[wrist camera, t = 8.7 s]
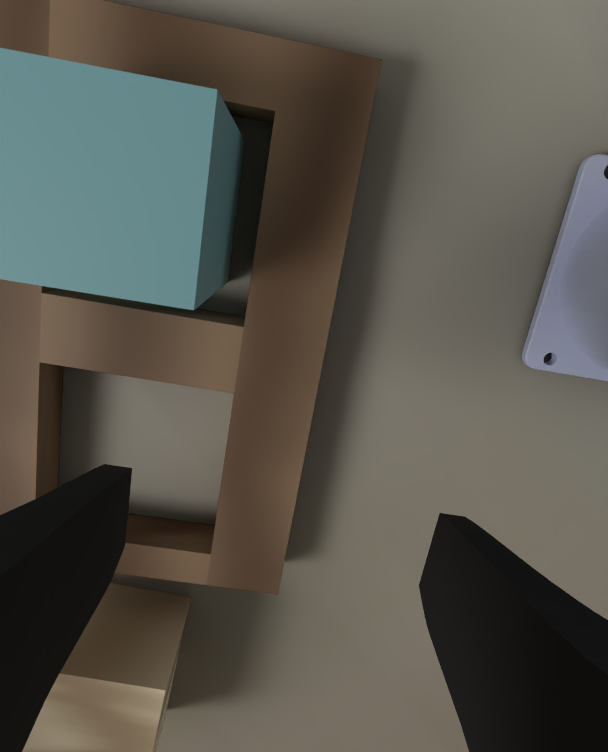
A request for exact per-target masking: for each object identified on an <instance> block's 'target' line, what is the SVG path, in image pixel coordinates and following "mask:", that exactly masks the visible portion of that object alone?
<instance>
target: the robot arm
mask: <svg viewBox="0 0 608 752" xmlns="http://www.w3.org/2000/svg"><path fill="white" fill-rule="evenodd" d="M606 166H608V155H604V154H596V155H592V156H589V157H587V158H586V159H585V160H584V161H583V162H582V163H581V165H580V167H579V170H578V173H577V177H576V180H575V183H574V186H573V190H572V193H571V196H570V199H569V203H568V206H567V209H566V212H565V216H564V219H563V222H562V225H561V229H560V232H559V235H558V238H557V242H556V245H555V248H554V251H553V254H552V258H551V261H550V264H549V267H548V271H547V274H546V277H545V280H544V284H543V287H542V290H541V293H540V297H539V300H538V303H537V306H536V310H535V313H534V316H533V319H532V323H531V326H530V329H529V332H528V336H527V339H526V342H525V345H524V349H523V352H522V360H523V362H524V363H525V364H526V365H527V366H529V367H531V368H533V369H539V370H545V371H551V372H556V373H562V374H568V375H574V376H580V377H586V378H592V379H598V380H603V381H608V179H607V178H605V176H604V170H605V168H606ZM548 353H551V354H552V358H551V359H550V361H548V362H547V363H544V357H545V355H546V354H548ZM131 474H132V468H127V467H120V466H113V465H106V464H104V465H102V466H100V467H97V468H95V469H93V470H91V471H89V472H87V473H85V474H83V475H81V476H80V477H78V478H76V479H74V480H72V481H70V482H68V483H66V484H64V485H62V486H60V487H58V488H56V489H54V490H52V491H50V492H49V493H47V494H45V495H43V496H41V497H39V498H37V499H35V500H32V501H30V502H28V503H26V504H24V505H21V506H19V507H17V508H15V509H13V510H10V511H8V512H6V513H4V514H2V515H0V752H22V751H23V749H24V747H25V744H26V742H27V740H28V738H29V735H30V733H31V731H32V729H33V727H34V724H35V722H36V720H37V718H38V715H39V713H40V711H41V709H42V707H43V704H44V702H45V700H46V698H47V696H48V694H49V692H50V690H51V689H52V687H53V685H54V683H55V681H56V679H57V677H58V675H59V674H60V672H61V670H62V668H63V666H64V665H65V663H66V661H67V659H68V658H69V656H70V654H71V652H72V651H73V649H74V647H75V645H76V644H77V642H78V640H79V638H80V637H81V635H82V633H83V631H84V629H85V628H86V626H87V624H88V622H89V621H90V619H91V617H92V615H93V614H94V612H95V610H96V608H97V606H98V605H99V603H100V601H101V599H102V597H103V596H104V594H105V592H106V590H107V588H108V586H109V584H110V582H111V580H112V577H113V575H114V572H115V570H116V568H117V565H118V563H119V560H120V558H121V555H122V552H123V550H124V547H125V541H126V530H127V519H128V507H129V496H130V485H131ZM419 588H420V593H421V599H422V604H423V609H424V614H425V619H426V623H427V627H428V630H429V634H430V637H431V640H432V643H433V645H434V648H435V651H436V654H437V657H438V660H439V663H440V666H441V669H442V672H443V674H444V677H445V680H446V683H447V686H448V689H449V692H450V694H451V697H452V700H453V703H454V706H455V709H456V712H457V715H458V717H459V720H460V723H461V726H462V729H463V733H464V736H465V739H466V742H467V746H468V749H469V752H608V620H607V619H605V618H603V617H602V616H600V615H599V614H597V613H595V612H594V611H592V610H591V609H589V608H588V607H586V606H585V605H583V604H582V603H580V602H579V601H577V600H576V599H575V598H573V597H572V596H570V595H569V594H568V593H566V592H565V591H563V590H562V589H561V588H559V587H558V586H556V585H555V584H553V583H552V582H551V581H549V580H548V579H547V578H545V577H544V576H543V575H541V574H540V573H539V572H537V571H536V570H535V569H534V568H532V567H531V566H530V565H528V564H527V563H526V562H524V561H523V560H522V559H521V558H519V557H518V556H517V555H515V554H514V553H513V552H512V551H510V550H509V549H508V548H507V547H505V546H504V545H503V544H502V543H500V542H499V541H498V540H496V539H495V538H494V537H493V536H491V535H490V534H489V533H487V532H486V531H485V530H483V529H482V528H481V527H479V526H478V525H477V524H475V523H474V522H472V521H471V520H469V519H468V518H466V517H463V516H456V515H449V514H442V513H440V514H439V518H438V521H437V524H436V528H435V531H434V535H433V538H432V542H431V545H430V549H429V552H428V556H427V559H426V563H425V566H424V570H423V573H422V577H421V580H420V584H419Z"/></svg>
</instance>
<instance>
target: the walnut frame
mask: <svg viewBox="0 0 608 752" xmlns="http://www.w3.org/2000/svg"><path fill="white" fill-rule="evenodd" d="M0 48H4V49H9V50H15V51H20V52H25V53H30V54H35V55H41V56H46V57H51V58H56V59H61V60H67V61H72V62H77V63H82V64H87V65H93V66H98V67H103V68H108V69H113V70H118V71H124V72H129V73H134V74H139V75H144V76H150V77H155V78H160V79H165V80H170V81H176V82H181V83H186V84H191V85H196V86H202V87H207V88H212V89H217V90H218V92H219V94H220V95H221V97H222V99H223V101H224V103H225V105H226V107H227V109H228V110H229V112H230V114H231V115H235V116H240V117H245V118H250V119H255V120H260V121H265V122H270V123H273V130H272V137H271V144H270V150H269V157H268V164H267V171H266V178H265V185H264V192H263V199H262V206H261V212H260V219H259V226H258V233H257V240H256V247H255V254H254V261H253V268H252V274H251V281H250V288H249V295H248V302H247V309H246V316H245V317H243V316H237V315H231V314H225V313H219V312H213V311H208V310H202V309H195V310H188V309H182V308H176V307H170V306H164V305H157V304H151V303H145V302H139V301H133V300H126V299H120V298H114V297H108V296H102V295H95V294H89V293H83V292H77V291H71V290H64V289H58V288H52V287H46V286H39V285H33V284H27V283H21V282H15V281H8V280H2V279H0V515H2V514H4V513H6V512H8V511H10V510H13V509H15V508H17V507H19V506H21V505H24V504H26V503H28V502H30V501H32V500H35V499H37V498H39V497H41V496H43V495H45V494H47V493H49V492H50V491H52V490H54V489H56V488H58V477H59V453H60V430H61V407H62V384H63V366H66V367H72V368H78V369H85V370H91V371H97V372H104V373H110V374H116V375H122V376H129V377H135V378H141V379H148V380H154V381H160V382H167V383H173V384H179V385H185V386H192V387H198V388H204V389H211V390H217V391H223V392H229V393H234V398H233V405H232V412H231V419H230V426H229V433H228V440H227V447H226V453H225V460H224V467H223V474H222V481H221V488H220V495H219V502H218V509H217V515H216V522H215V526H213V525H205V524H198V523H191V522H184V521H177V520H169V519H162V518H155V517H148V516H141V515H134V514H128V519H127V530H126V541H125V547H124V550H123V552H122V555H121V558H120V560H119V563H118V565H117V568H116V570H115V572H114V573H118V574H125V575H133V576H141V577H148V578H156V579H164V580H171V581H179V582H187V583H194V584H202V585H210V586H217V587H225V588H233V589H240V590H248V591H256V592H263V593H271V594H278V591H279V586H280V581H281V576H282V571H283V565H284V560H285V555H286V550H287V545H288V540H289V535H290V529H291V524H292V519H293V514H294V509H295V504H296V499H297V493H298V488H299V483H300V478H301V473H302V468H303V462H304V457H305V452H306V447H307V442H308V437H309V432H310V426H311V421H312V416H313V411H314V406H315V401H316V396H317V390H318V385H319V380H320V375H321V370H322V365H323V359H324V354H325V349H326V344H327V339H328V334H329V329H330V323H331V318H332V313H333V308H334V303H335V298H336V293H337V287H338V282H339V277H340V272H341V267H342V262H343V256H344V251H345V246H346V241H347V236H348V231H349V226H350V220H351V215H352V210H353V205H354V200H355V195H356V190H357V184H358V179H359V174H360V169H361V164H362V159H363V153H364V148H365V143H366V138H367V133H368V128H369V123H370V117H371V112H372V107H373V102H374V97H375V92H376V87H377V81H378V76H379V71H380V66H381V61H382V59H377V58H372V57H368V56H363V55H358V54H354V53H349V52H344V51H340V50H335V49H330V48H325V47H321V46H316V45H311V44H307V43H302V42H297V41H292V40H288V39H283V38H278V37H274V36H269V35H264V34H260V33H255V32H250V31H245V30H241V29H236V28H231V27H227V26H222V25H217V24H213V23H208V22H203V21H198V20H194V19H189V18H184V17H180V16H175V15H170V14H165V13H161V12H156V11H151V10H147V9H142V8H137V7H133V6H128V5H123V4H118V3H114V2H109V1H104V0H0Z"/></svg>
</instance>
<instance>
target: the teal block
mask: <svg viewBox="0 0 608 752" xmlns="http://www.w3.org/2000/svg"><path fill="white" fill-rule="evenodd" d="M244 149H245V140H244V139H243V137H242V135H241V133H240V131H239V129H238V127H237V125H236V124H235V122H234V120H233V118H232V116H231V114H230V112H229V110H228V109H227V107H226V105H225V103H224V101H223V99H222V97H221V95H220V94H219V92H218V90H217V89H212V88H207V87H202V86H196V85H191V84H186V83H181V82H176V81H170V80H165V79H160V78H155V77H150V76H144V75H139V74H134V73H129V72H124V71H118V70H113V69H108V68H103V67H98V66H93V65H87V64H82V63H77V62H72V61H67V60H61V59H56V58H51V57H46V56H41V55H35V54H30V53H25V52H20V51H15V50H9V49H4V48H0V279H2V280H8V281H15V282H21V283H27V284H33V285H39V286H46V287H52V288H58V289H64V290H71V291H77V292H83V293H89V294H95V295H102V296H108V297H114V298H120V299H126V300H133V301H139V302H145V303H151V304H157V305H164V306H170V307H176V308H182V309H188V310H195V309H196V308H197V307H199V306H200V305H201V304H202V303H203V302H205V301H206V300H207V299H208V298H209V297H211V296H212V295H213V294H214V293H215V292H217V291H218V290H219V289H220V288H221V287H223V286H224V285H225V284H226V283H227V282H228V279H229V271H230V263H231V254H232V246H233V238H234V230H235V222H236V214H237V206H238V198H239V190H240V182H241V173H242V165H243V157H244Z"/></svg>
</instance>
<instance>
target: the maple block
mask: <svg viewBox="0 0 608 752" xmlns="http://www.w3.org/2000/svg"><path fill="white" fill-rule="evenodd" d="M190 598H191V597H187V596H181V595H176V594H170V593H164V592H159V591H153V590H148V589H142V588H137V587H131V586H126V585H120V584H115V583H110V584H109V586H108V588H107V590H106V592H105V594H104V596H103V597H102V599H101V601H100V603H99V605H98V606H97V608H96V610H95V612H94V614H93V615H92V617H91V619H90V621H89V622H88V624H87V626H86V628H85V629H84V631H83V633H82V635H81V637H80V638H79V640H78V642H77V644H76V645H75V647H74V649H73V651H72V652H71V654H70V656H69V658H68V659H67V661H66V663H65V665H64V666H63V668H62V670H61V672H60V674H59V675H58V677H57V679H56V681H55V683H54V685H53V687H52V689H51V690H50V692H49V694H48V696H47V698H46V700H45V702H44V704H43V707H42V709H41V711H40V713H39V715H38V718H37V720H36V722H35V724H34V727H33V729H32V731H31V733H30V735H29V738H28V740H27V742H26V744H25V747H24V749H23V751H22V752H156V749H157V745H158V742H159V738H160V734H161V730H162V726H163V722H164V718H165V714H166V710H167V706H168V701H169V697H170V692H171V687H172V682H173V678H174V673H175V668H176V664H177V659H178V654H179V650H180V645H181V640H182V636H183V631H184V626H185V622H186V617H187V612H188V607H189V603H190Z"/></svg>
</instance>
